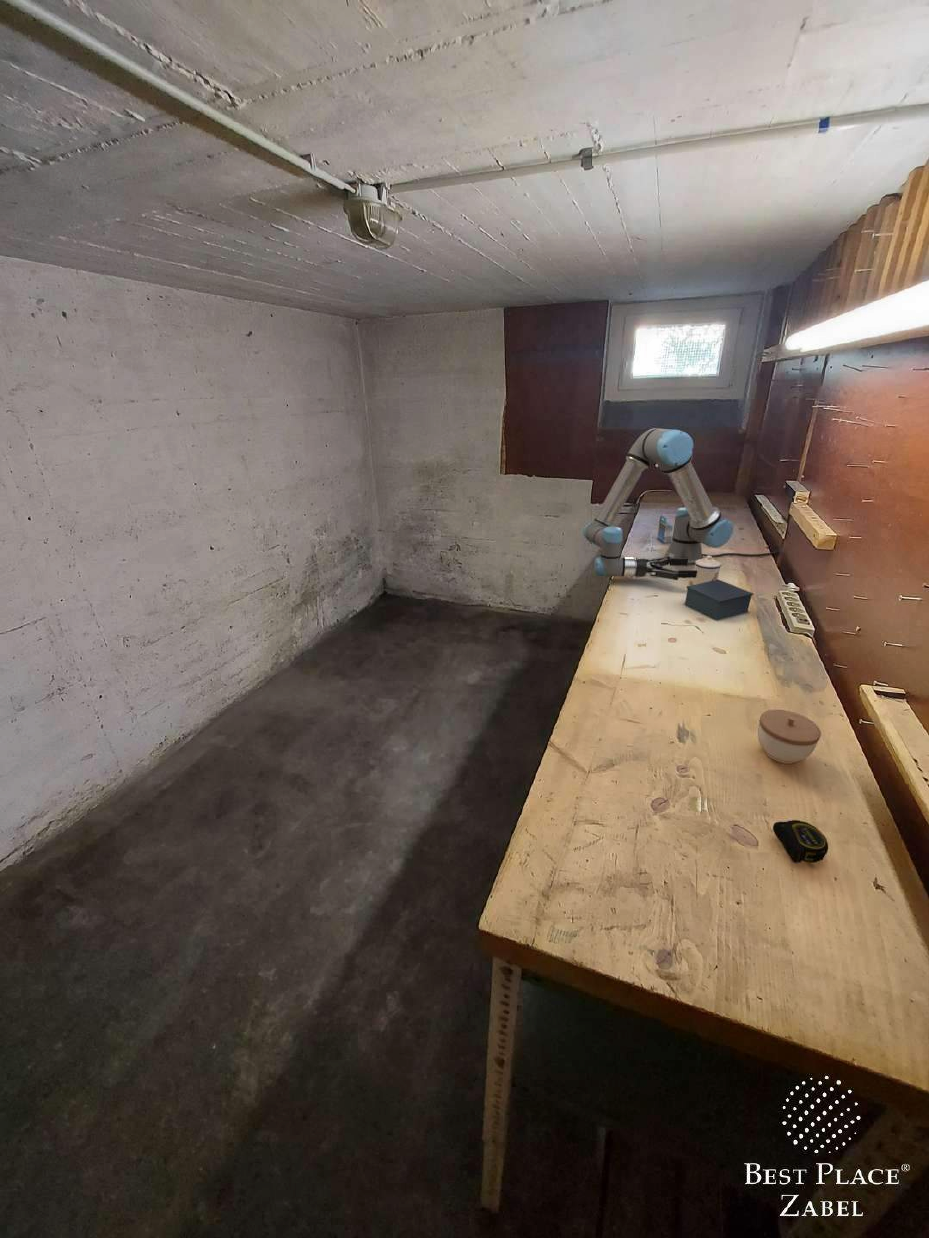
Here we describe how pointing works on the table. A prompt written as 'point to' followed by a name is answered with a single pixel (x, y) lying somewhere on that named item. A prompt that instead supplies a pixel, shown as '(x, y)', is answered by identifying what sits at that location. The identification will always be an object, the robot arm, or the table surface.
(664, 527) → the label tape box
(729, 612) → the storage box
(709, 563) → the teacup with lid
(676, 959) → the table surface
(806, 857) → the tape measure
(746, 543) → the table surface
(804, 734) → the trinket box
